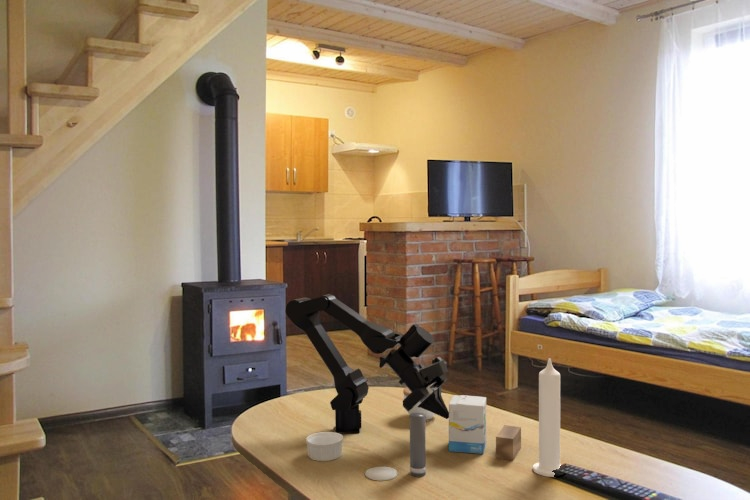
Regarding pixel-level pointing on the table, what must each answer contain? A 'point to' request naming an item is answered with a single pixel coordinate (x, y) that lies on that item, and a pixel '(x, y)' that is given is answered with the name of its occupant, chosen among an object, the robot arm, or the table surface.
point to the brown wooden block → (508, 442)
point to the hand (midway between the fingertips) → (448, 417)
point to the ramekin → (324, 446)
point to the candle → (549, 422)
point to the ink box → (467, 424)
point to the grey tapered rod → (417, 445)
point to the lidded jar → (416, 409)
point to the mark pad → (381, 473)
